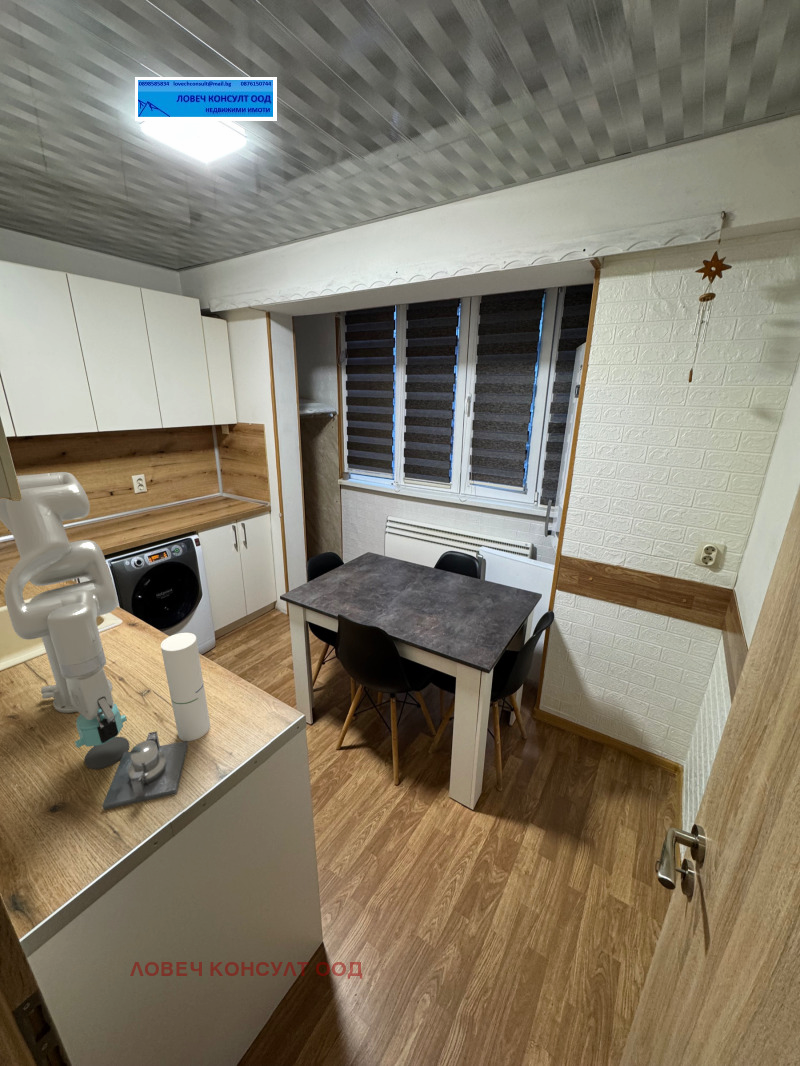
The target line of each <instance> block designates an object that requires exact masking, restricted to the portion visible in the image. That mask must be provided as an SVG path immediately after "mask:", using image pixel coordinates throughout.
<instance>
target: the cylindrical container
mask: <svg viewBox="0 0 800 1066" xmlns="http://www.w3.org/2000/svg"><path fill="white" fill-rule="evenodd" d="M160 648H161V655H162V660H163V666H164V670H165V675H166V679H167V685H168V690H169V694H170V695H169V697H170V700H171V705H172V706H171V707H172V711H173V712H172V713H173V715H174V721H175V722H174V723H175V727H176V733H177V736H178V738H179V739H180V740H181V741H188V742H192V741H195V740H198V739H200V738H202V737H203V736H205V735H206V734H207V733H208V732H209V730H210V729H211V721H210V716H209V715H210V714H209V708H208V703H207V696H206V689H205V685H204V678H203V671H202V666H201V659H200V652H199V647H198V641H197V636H196V634H194V633H191V632H181V633H175V634H173V635H170V636H168V637H166V638H164V639H163V640H162V642H161V643H160Z"/></svg>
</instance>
